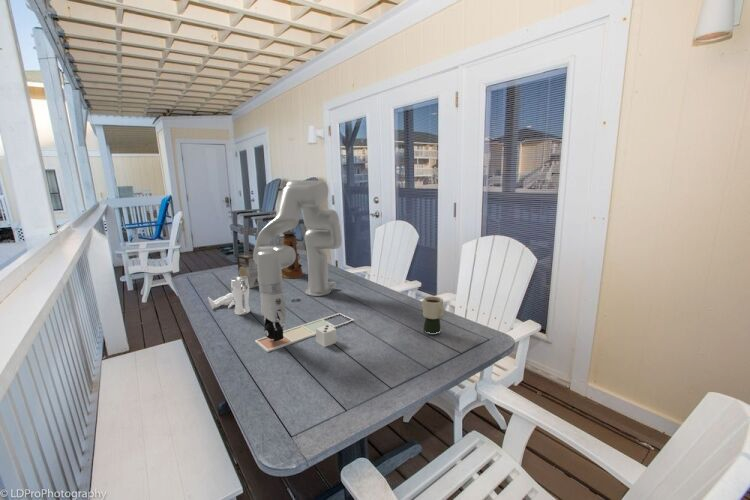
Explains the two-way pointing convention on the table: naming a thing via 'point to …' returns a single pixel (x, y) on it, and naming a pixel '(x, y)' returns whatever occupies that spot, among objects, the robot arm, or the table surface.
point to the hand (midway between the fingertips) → (274, 335)
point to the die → (326, 335)
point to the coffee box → (248, 269)
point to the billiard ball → (270, 330)
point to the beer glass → (240, 294)
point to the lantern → (295, 268)
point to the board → (296, 334)
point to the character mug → (432, 313)
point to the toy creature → (222, 301)
